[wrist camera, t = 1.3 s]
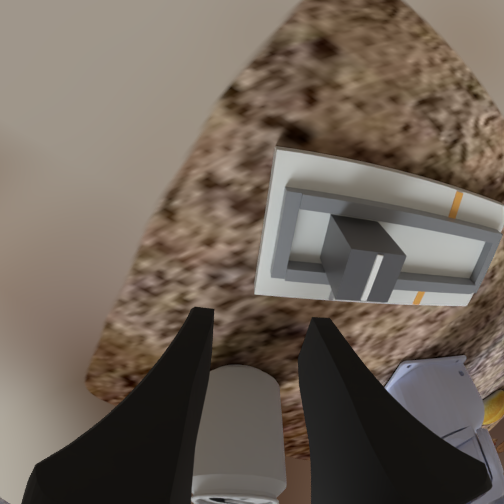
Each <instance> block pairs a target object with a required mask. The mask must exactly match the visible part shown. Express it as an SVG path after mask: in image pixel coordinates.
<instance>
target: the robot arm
mask: <svg viewBox="0 0 504 504" xmlns="http://www.w3.org/2000/svg"><path fill="white" fill-rule="evenodd" d="M213 323H214V309H210V308H201V307H194V308H192V309H191V311H190V313H189V315H188V317H187V319H186V321H185V322H184V324H183V326H182V327H181V329H180V330H179V332H178V334H177V335H176V337H175V338H174V340H173V341H172V342H171V344H170V345H169V347H168V348H167V349H166V351H165V352H164V354H163V355H162V356H161V358H160V359H159V360H158V361H157V363H156V364H155V365H154V366H153V368H152V369H151V370H150V371H149V372H148V374H147V375H146V376H145V377H144V378H143V380H142V381H141V382H140V383H139V384H138V385H137V386H136V387H135V388H134V389H133V390H132V391H131V393H130V394H129V395H128V396H127V397H126V398H125V399H124V400H123V401H122V402H120V403H119V404H118V405H117V406H116V407H115V408H114V409H113V410H112V411H111V412H110V413H109V414H108V415H106V416H105V417H104V418H103V419H102V420H101V421H99V422H98V423H97V424H96V425H94V426H93V427H92V428H90V429H89V430H88V431H87V432H85V433H84V434H82V435H81V436H80V437H78V438H77V439H76V440H75V441H73V442H72V443H70V444H69V445H67V446H66V447H64V448H63V449H61V450H59V451H58V452H56V453H54V454H52V455H51V456H49V457H47V458H46V459H44V460H42V461H41V462H39V463H37V464H36V465H35V467H34V469H33V471H32V473H31V475H30V477H29V480H28V482H27V485H26V489H25V493H24V496H23V499H22V503H21V504H191V493H192V480H193V468H194V457H195V447H196V440H197V435H198V430H199V425H200V420H201V415H202V411H203V406H204V401H205V396H206V392H207V387H208V382H209V375H210V365H211V356H212V341H213ZM466 358H467V357H466V356H465V355H461V356H452V357H443V358H434V359H422V360H409V361H403V362H402V363H401V364H400V365H399V367H398V368H397V370H396V371H395V373H394V374H393V376H392V377H391V379H390V380H389V381H388V383H387V384H386V386H385V387H383V385H382V384H381V383H380V382H379V381H378V380H377V379H376V378H375V376H374V375H373V374H372V373H371V372H370V370H369V369H368V368H367V367H366V366H365V364H364V363H363V362H362V360H361V359H360V358H359V357H358V355H357V354H356V353H355V351H354V350H353V349H352V347H351V346H350V345H349V343H348V342H347V341H346V339H345V338H344V337H343V335H342V334H341V333H340V331H339V330H338V329H337V327H336V326H335V324H334V323H333V322H332V320H331V319H330V318H317V317H312V319H311V322H310V325H309V328H308V331H307V334H306V337H305V340H304V343H303V345H302V348H301V351H300V354H299V357H298V374H299V387H300V393H301V399H302V405H303V410H304V416H305V422H306V427H307V433H308V439H309V447H310V460H311V504H504V475H503V472H504V471H503V468H502V465H501V462H500V460H499V457H498V454H497V452H496V449H495V446H494V444H493V442H492V439H491V437H490V435H489V432H488V430H487V429H484V428H483V429H482V428H481V426H482V423H483V420H484V404H483V400H482V398H481V396H480V394H479V392H478V390H477V388H476V386H475V384H474V383H473V381H472V379H471V377H470V375H469V373H468V371H467V370H466V368H465V366H464V364H463V363H464V362H465V360H466ZM476 433H477V434H476ZM477 435H478V437H477ZM478 438H479V439H478ZM0 504H9V503H8V502H6V501H5V500H3V499H2V498H0Z"/></svg>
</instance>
